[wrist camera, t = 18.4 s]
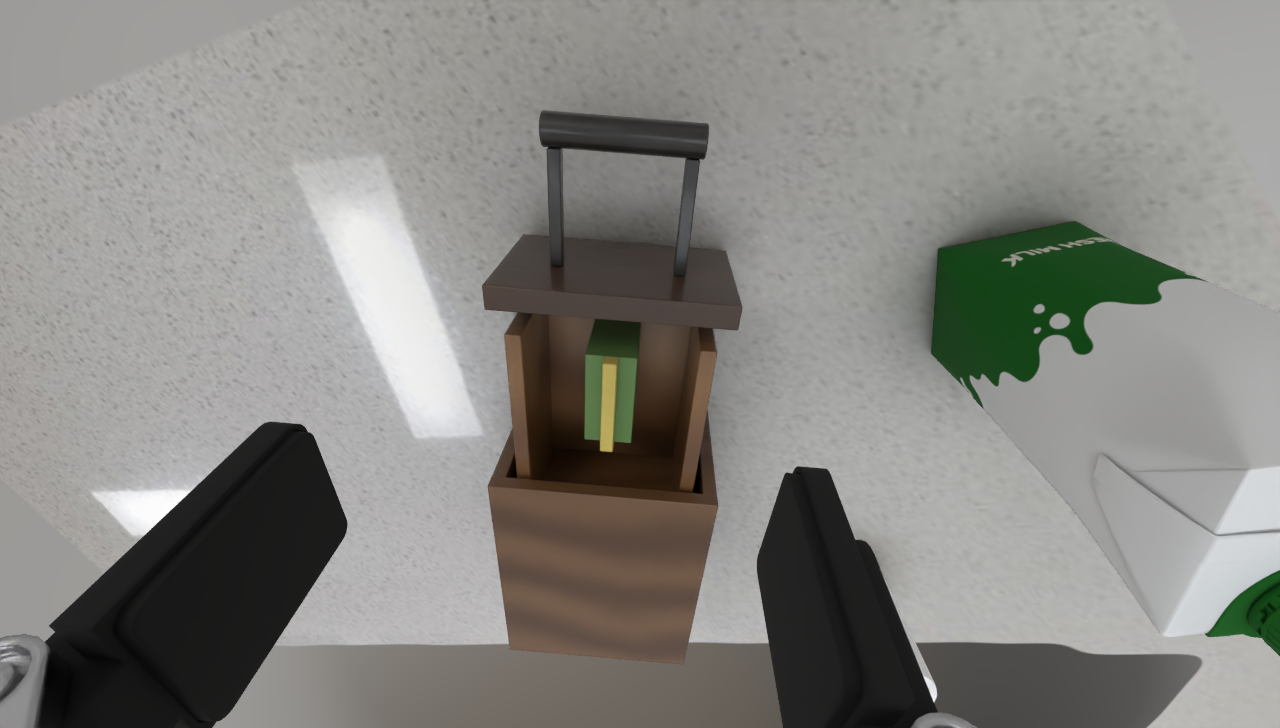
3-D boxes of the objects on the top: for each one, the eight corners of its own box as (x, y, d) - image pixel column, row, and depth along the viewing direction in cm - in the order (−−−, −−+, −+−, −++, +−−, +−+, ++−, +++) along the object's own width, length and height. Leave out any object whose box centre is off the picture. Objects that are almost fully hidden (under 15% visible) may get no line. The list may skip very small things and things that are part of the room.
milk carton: (914, 367, 32) (1190, 718, 15) (921, 233, 27) (1328, 521, 10) (1065, 342, 31) (1558, 700, 14) (1099, 197, 26) (1906, 461, 9)
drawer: (515, 98, 24) (462, 113, 18) (748, 117, 24) (775, 138, 18) (535, 443, 36) (508, 524, 30) (691, 456, 36) (696, 540, 30)
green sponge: (595, 386, 32) (581, 450, 27) (597, 307, 29) (582, 362, 24) (636, 390, 32) (630, 454, 26) (642, 311, 29) (636, 366, 24)
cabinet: (527, 390, 34) (487, 486, 27) (707, 405, 34) (718, 505, 27) (537, 544, 43) (509, 649, 36) (680, 556, 43) (683, 664, 36)
